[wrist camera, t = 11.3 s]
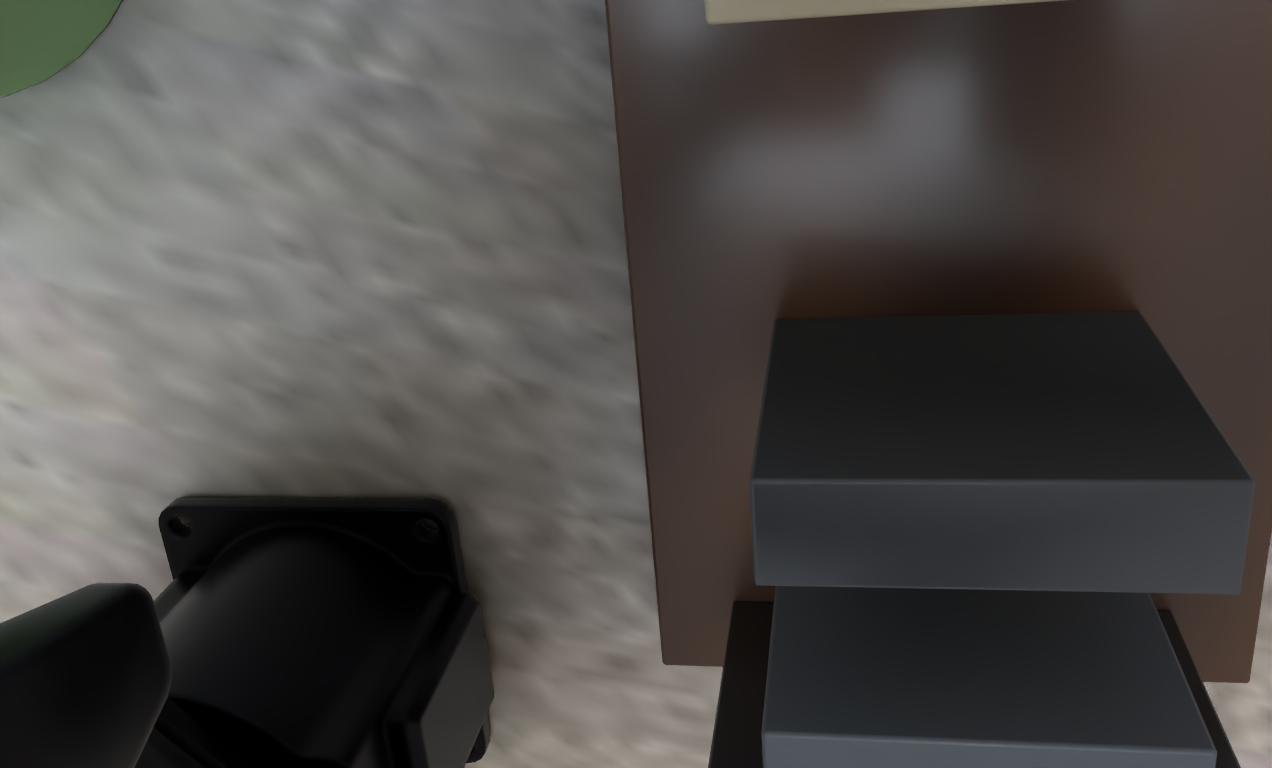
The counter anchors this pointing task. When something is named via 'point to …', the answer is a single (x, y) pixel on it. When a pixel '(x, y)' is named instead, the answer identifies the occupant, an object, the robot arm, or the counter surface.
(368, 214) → the counter surface
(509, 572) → the counter surface
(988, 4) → the cream book
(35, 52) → the mug
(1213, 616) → the book rack
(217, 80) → the counter surface
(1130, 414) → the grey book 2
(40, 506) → the counter surface
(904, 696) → the grey book
